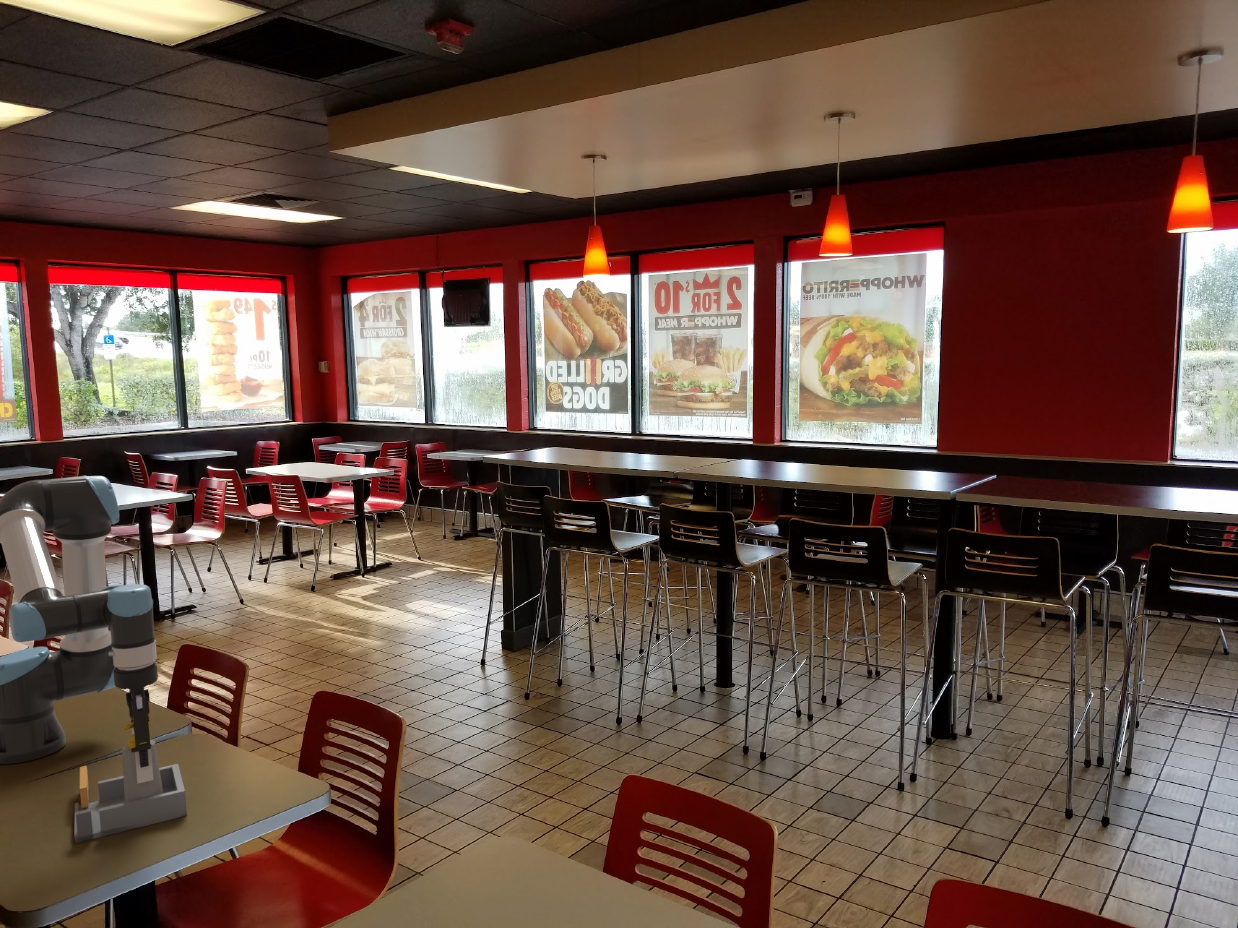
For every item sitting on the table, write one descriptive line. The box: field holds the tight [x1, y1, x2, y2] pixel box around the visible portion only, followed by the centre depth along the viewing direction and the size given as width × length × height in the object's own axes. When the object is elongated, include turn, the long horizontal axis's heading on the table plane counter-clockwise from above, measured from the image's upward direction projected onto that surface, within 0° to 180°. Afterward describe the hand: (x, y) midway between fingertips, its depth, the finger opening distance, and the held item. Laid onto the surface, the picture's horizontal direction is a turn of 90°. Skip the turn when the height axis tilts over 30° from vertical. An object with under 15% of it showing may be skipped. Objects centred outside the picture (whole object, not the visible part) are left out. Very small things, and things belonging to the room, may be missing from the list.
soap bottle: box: [121, 721, 164, 803], centre depth 172 cm, size 7×7×18 cm
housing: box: [73, 763, 188, 844], centre depth 174 cm, size 15×19×5 cm
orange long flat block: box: [79, 765, 90, 808], centre depth 179 cm, size 12×1×4 cm, turn 31°
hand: (143, 768), depth 175 cm, fingers open, 13 cm apart
